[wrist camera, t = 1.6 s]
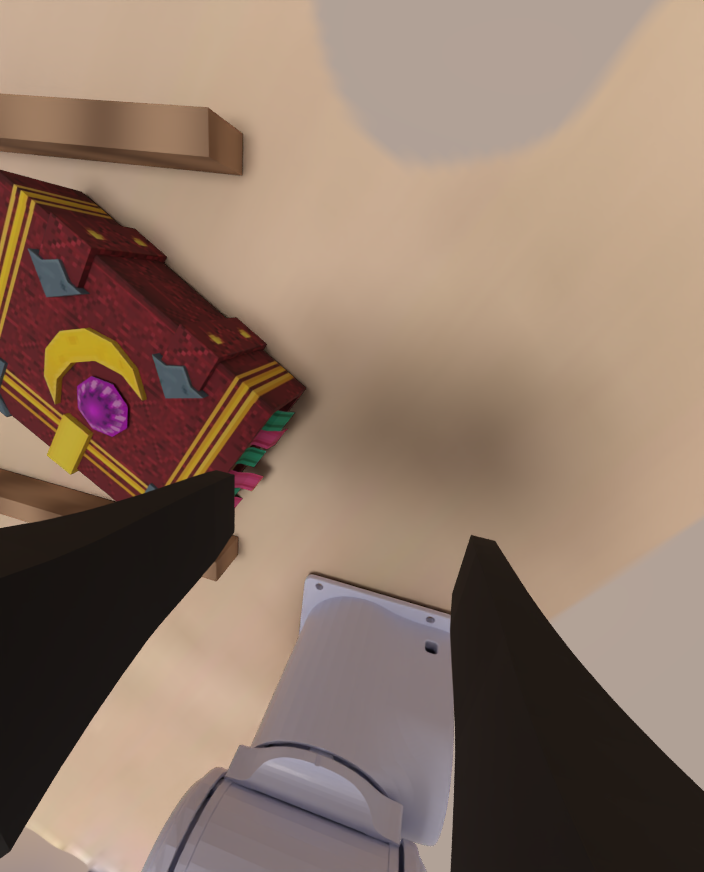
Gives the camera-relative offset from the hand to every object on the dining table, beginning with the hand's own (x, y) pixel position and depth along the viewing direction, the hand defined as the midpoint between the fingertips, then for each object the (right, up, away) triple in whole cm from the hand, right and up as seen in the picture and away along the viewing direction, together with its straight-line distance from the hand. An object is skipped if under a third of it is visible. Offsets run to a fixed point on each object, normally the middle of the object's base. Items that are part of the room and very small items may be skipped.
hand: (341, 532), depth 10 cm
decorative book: (-10, +6, +11) cm, 17 cm away
